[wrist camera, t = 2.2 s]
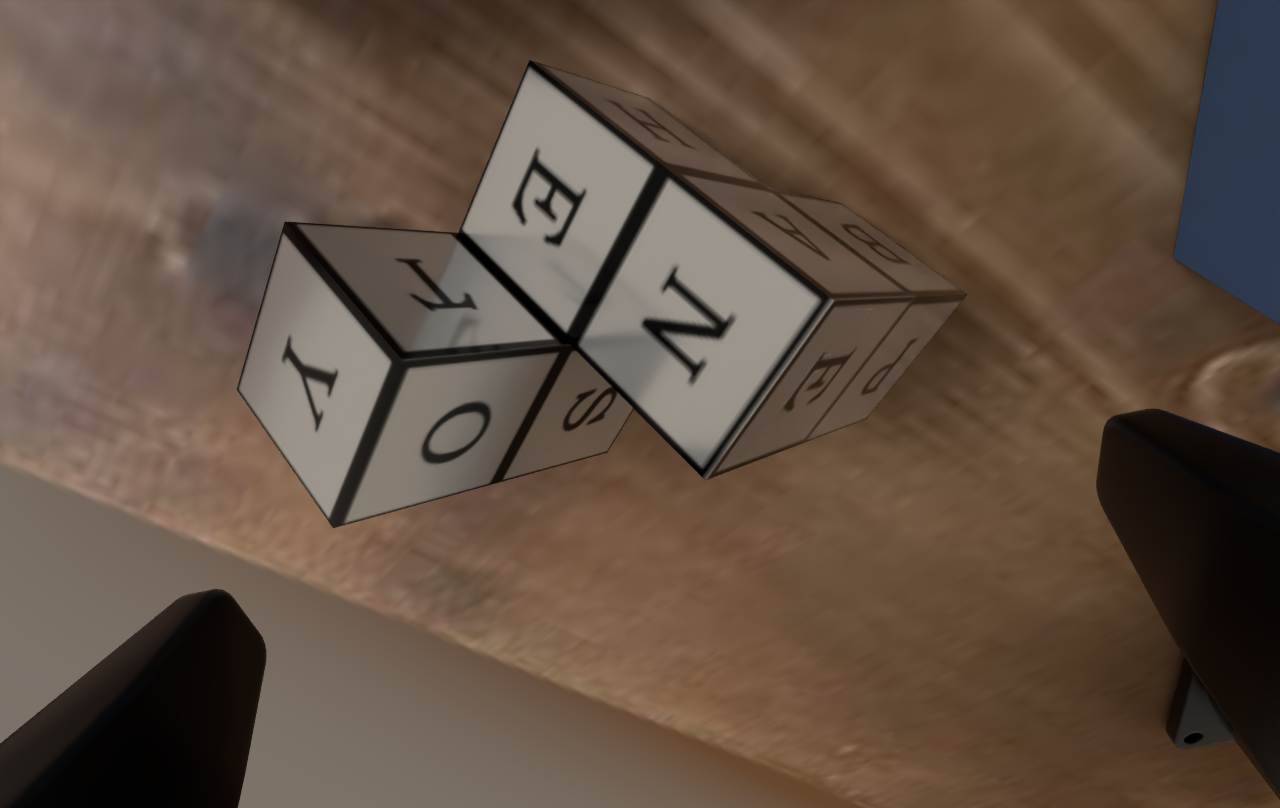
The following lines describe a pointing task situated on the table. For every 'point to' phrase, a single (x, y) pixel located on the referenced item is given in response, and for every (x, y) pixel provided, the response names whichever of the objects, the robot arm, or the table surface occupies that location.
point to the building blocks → (579, 314)
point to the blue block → (1237, 160)
